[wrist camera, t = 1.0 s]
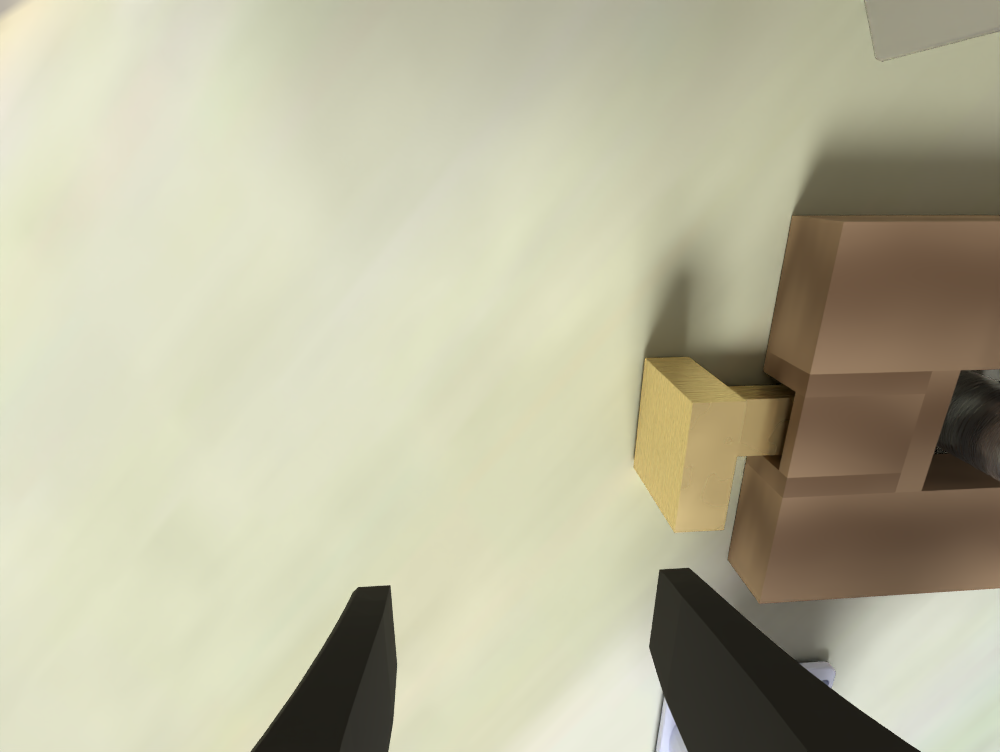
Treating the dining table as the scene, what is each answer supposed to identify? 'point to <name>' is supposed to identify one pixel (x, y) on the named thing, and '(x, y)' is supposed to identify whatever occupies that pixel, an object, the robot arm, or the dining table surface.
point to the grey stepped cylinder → (974, 423)
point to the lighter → (927, 24)
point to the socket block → (874, 413)
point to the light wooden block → (702, 438)
